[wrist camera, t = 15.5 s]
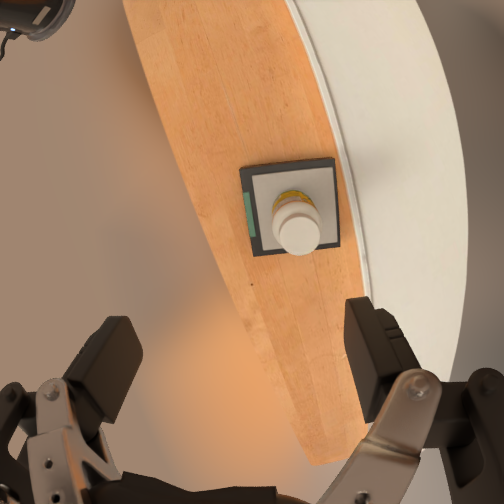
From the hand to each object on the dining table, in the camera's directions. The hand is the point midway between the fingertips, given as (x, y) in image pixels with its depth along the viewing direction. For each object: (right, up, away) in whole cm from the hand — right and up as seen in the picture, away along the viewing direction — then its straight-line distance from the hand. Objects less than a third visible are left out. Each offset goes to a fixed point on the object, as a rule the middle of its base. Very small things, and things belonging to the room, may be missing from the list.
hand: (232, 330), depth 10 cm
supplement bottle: (+6, +8, +26) cm, 28 cm away
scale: (+6, +9, +28) cm, 30 cm away
